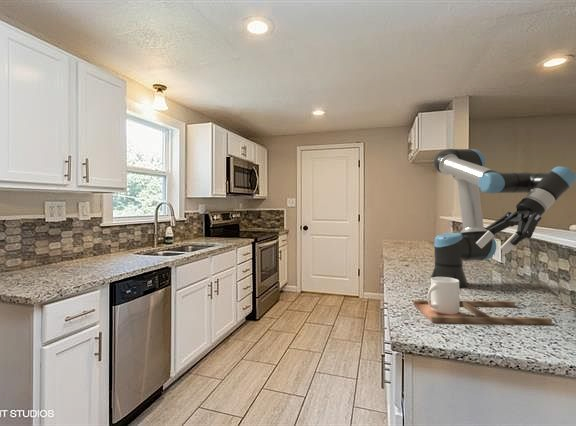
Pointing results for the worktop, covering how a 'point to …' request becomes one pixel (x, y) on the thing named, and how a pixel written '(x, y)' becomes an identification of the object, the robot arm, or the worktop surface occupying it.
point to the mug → (444, 295)
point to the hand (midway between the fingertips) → (490, 248)
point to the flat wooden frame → (482, 317)
